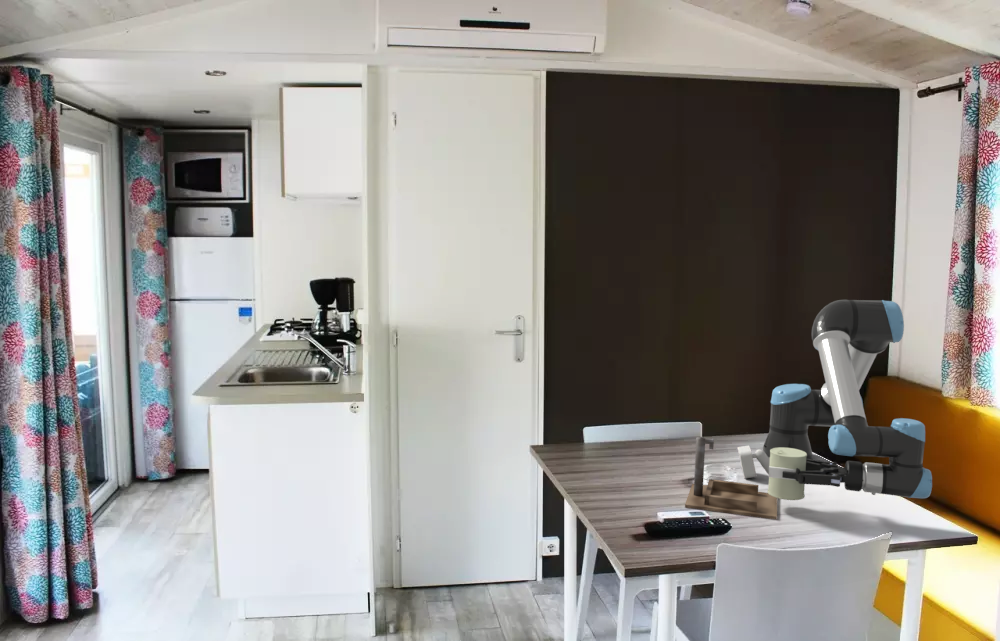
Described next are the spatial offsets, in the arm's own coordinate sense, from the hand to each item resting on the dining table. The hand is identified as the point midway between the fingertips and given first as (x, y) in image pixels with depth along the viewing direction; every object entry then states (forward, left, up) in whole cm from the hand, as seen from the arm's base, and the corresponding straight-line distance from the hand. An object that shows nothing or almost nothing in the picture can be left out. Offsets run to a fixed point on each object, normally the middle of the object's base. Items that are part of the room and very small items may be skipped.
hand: (769, 466), depth 205 cm
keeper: (+5, -7, -11) cm, 14 cm away
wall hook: (-19, -17, -11) cm, 28 cm away
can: (-3, +4, -7) cm, 9 cm away
